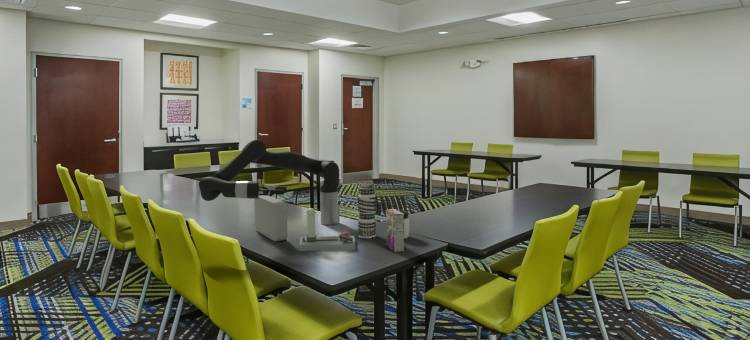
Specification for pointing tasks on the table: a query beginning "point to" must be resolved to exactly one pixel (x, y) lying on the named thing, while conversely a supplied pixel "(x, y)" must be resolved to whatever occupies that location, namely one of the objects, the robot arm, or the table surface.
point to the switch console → (326, 244)
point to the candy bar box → (395, 230)
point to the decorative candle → (366, 211)
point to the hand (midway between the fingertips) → (285, 190)
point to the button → (346, 233)
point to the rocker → (345, 237)
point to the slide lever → (311, 225)
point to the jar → (405, 223)
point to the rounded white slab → (271, 218)
